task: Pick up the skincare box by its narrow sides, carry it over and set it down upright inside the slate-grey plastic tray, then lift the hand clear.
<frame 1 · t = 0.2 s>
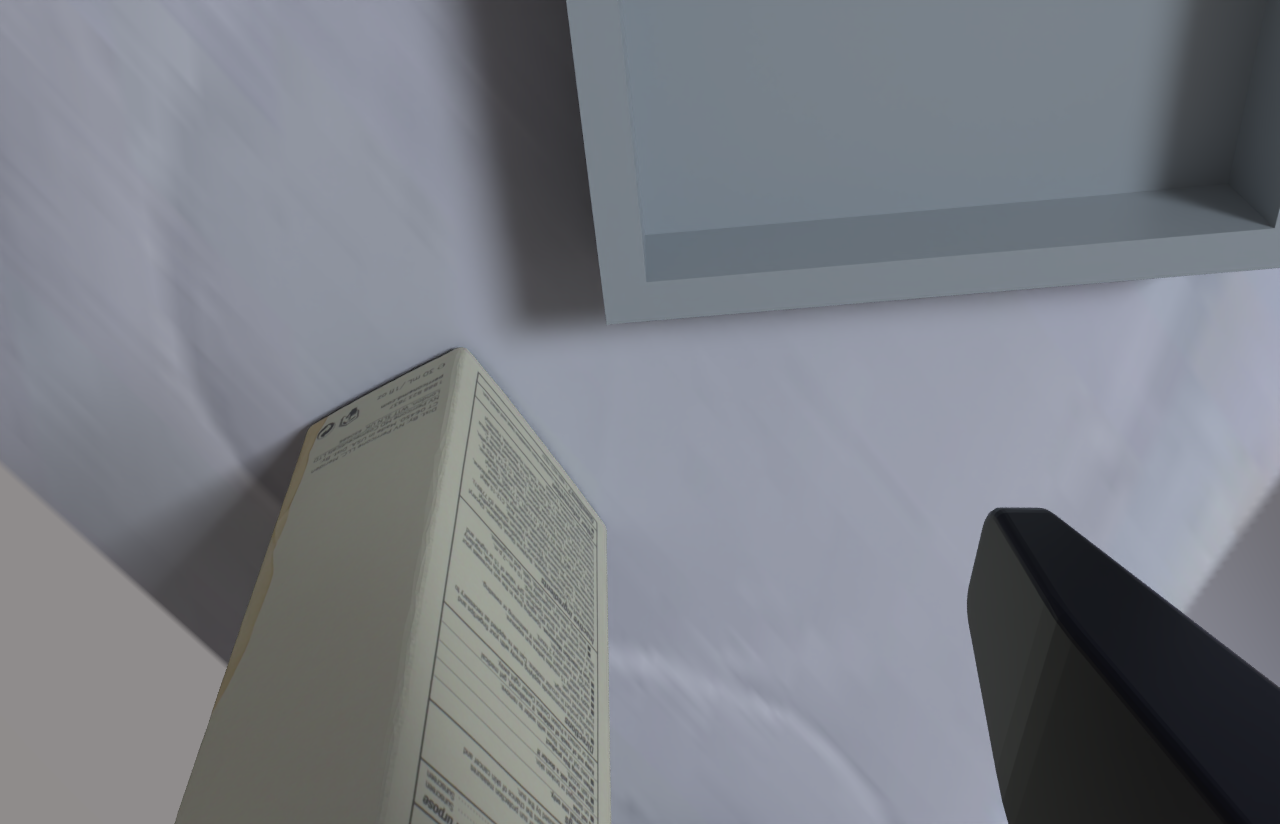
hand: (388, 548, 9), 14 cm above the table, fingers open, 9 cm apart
skincare box: (471, 473, 27), on the table
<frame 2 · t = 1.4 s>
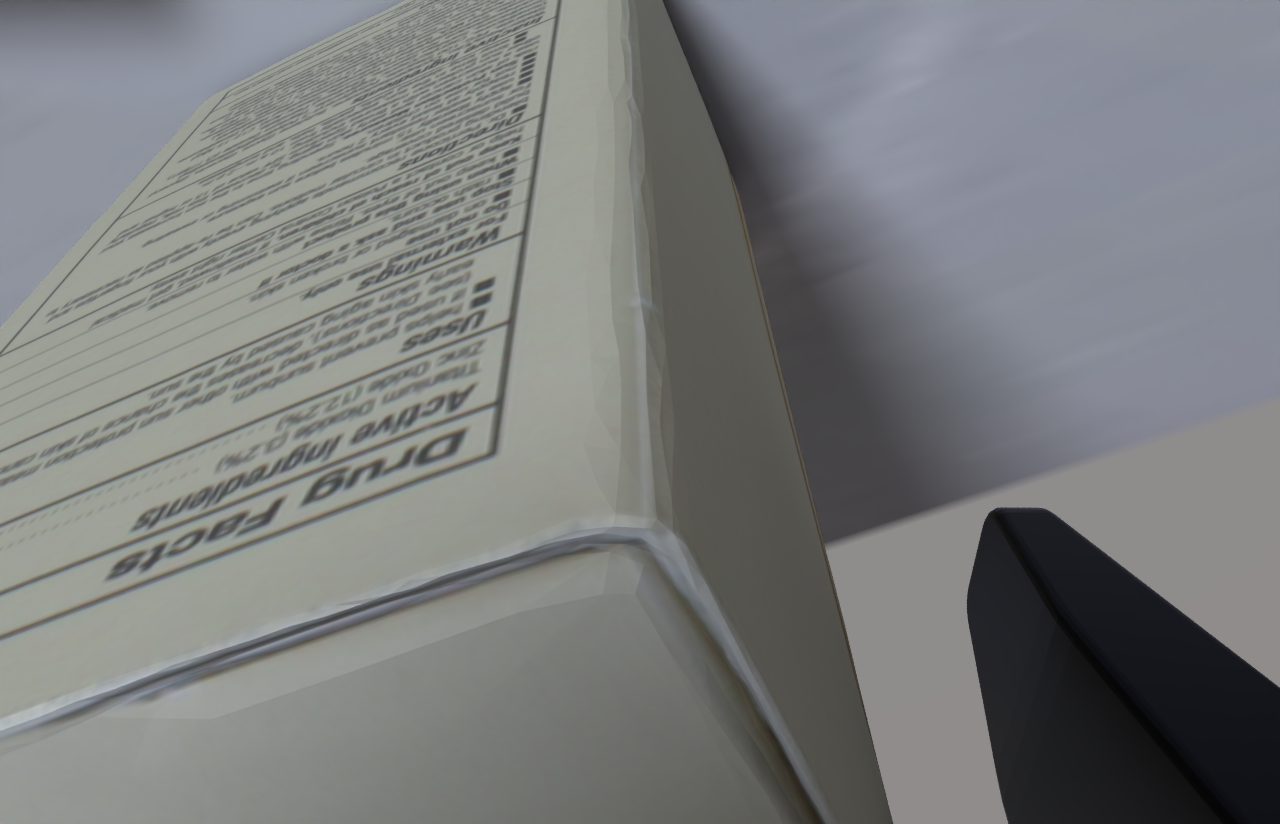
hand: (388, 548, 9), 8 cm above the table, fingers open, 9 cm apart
skincare box: (485, 131, 16), on the table
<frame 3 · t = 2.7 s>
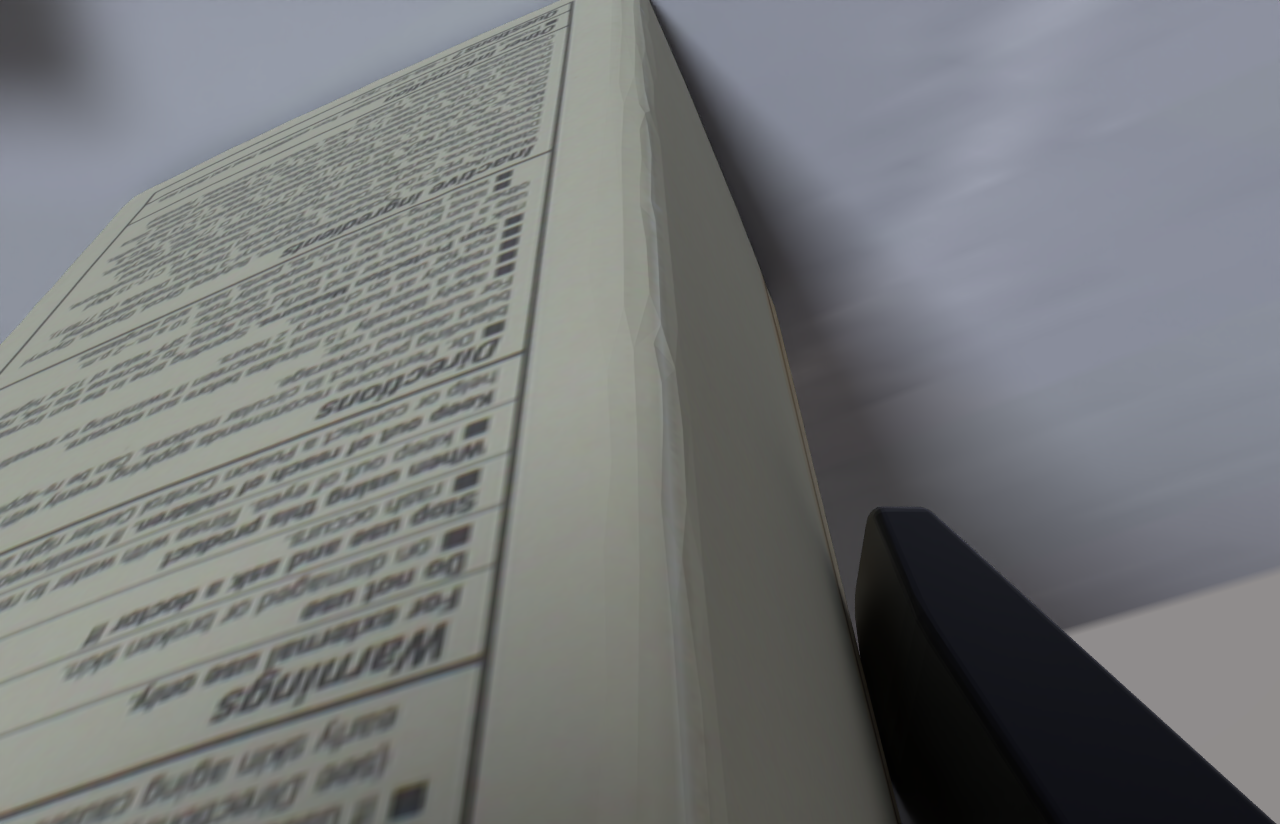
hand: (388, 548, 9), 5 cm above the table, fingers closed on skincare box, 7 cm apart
skincare box: (470, 234, 13), on the table, touching gripper
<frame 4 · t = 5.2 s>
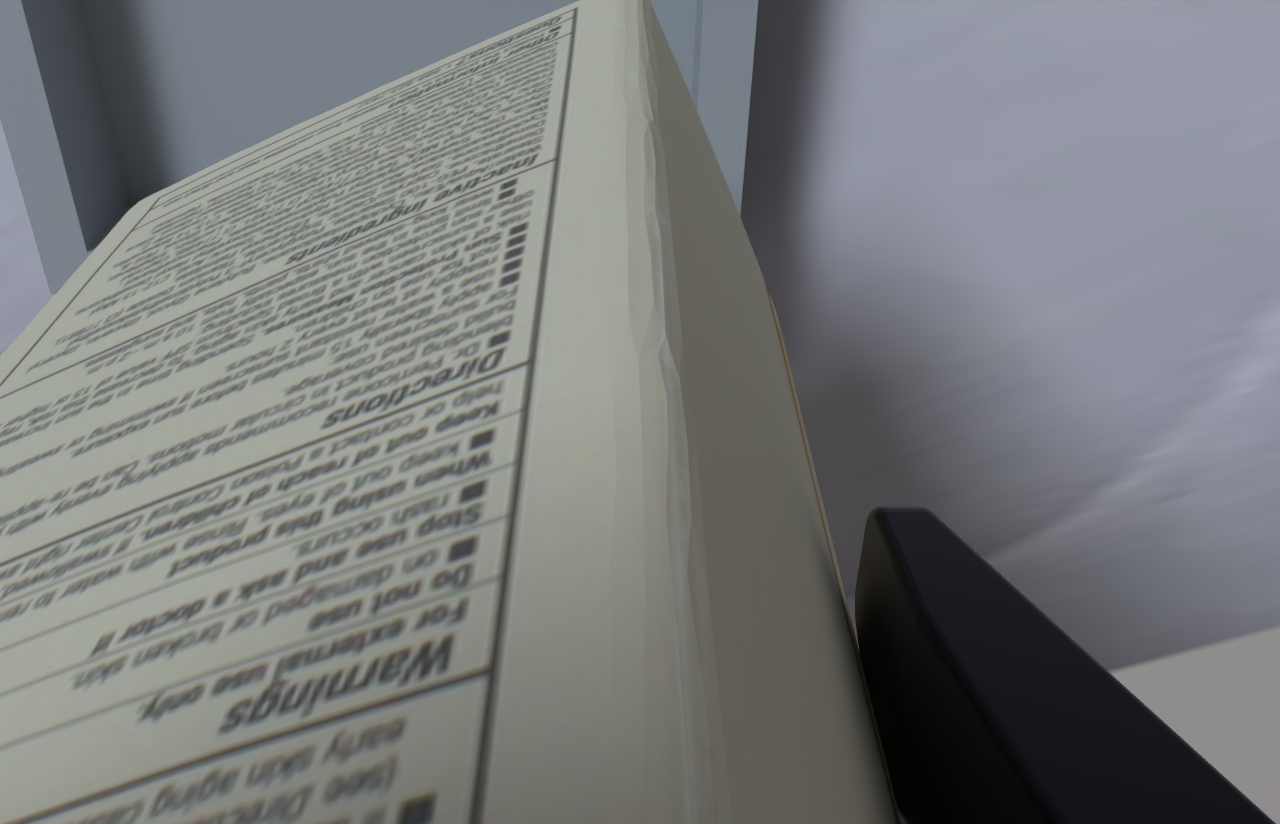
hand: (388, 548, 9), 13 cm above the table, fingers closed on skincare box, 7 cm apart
skincare box: (473, 239, 13), point 8 cm above the table, touching gripper
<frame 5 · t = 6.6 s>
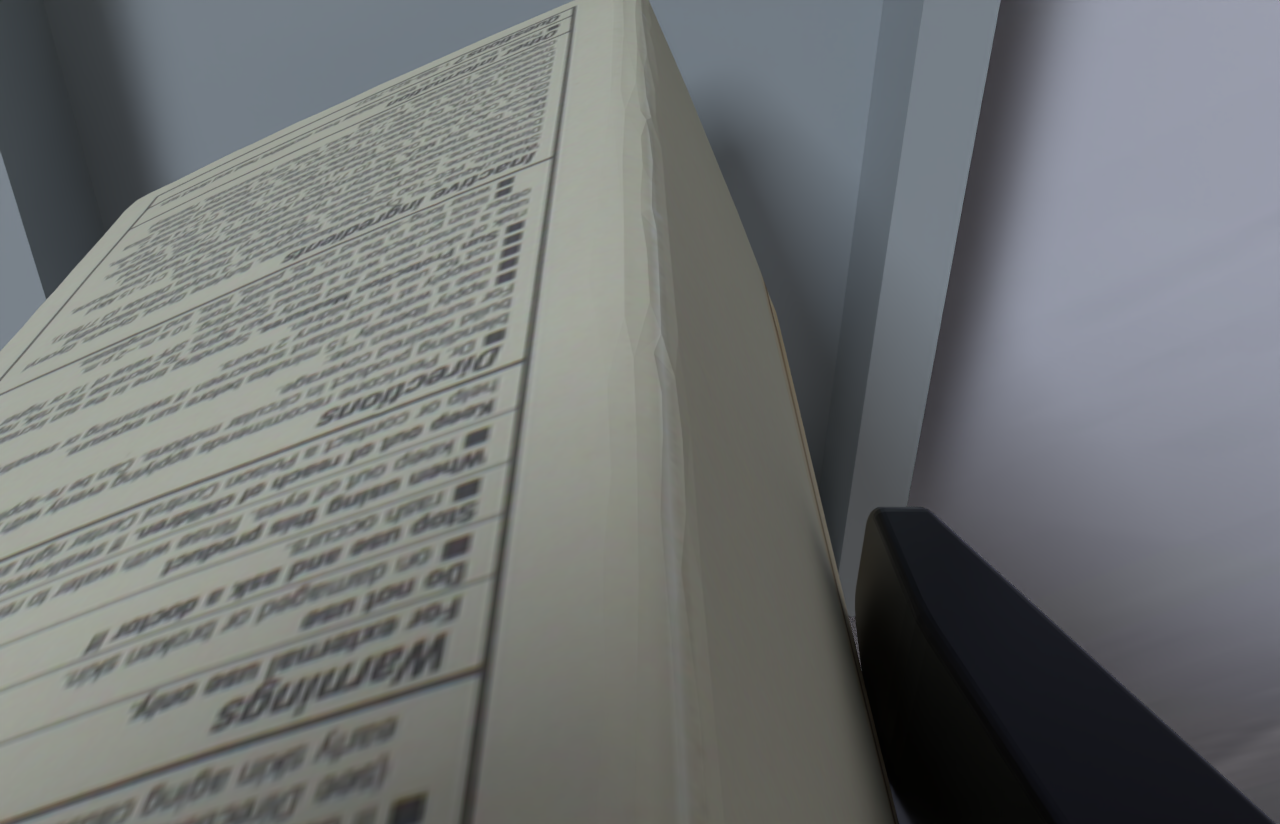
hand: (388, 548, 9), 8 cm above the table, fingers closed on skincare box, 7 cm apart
sorting tray: (480, 138, 15), on the table
skincare box: (472, 238, 13), point 3 cm above the table, touching gripper
when the fingers open (7 cm above the table, at t = 7.8 s): skincare box drops 1 cm, resting on sorting tray.
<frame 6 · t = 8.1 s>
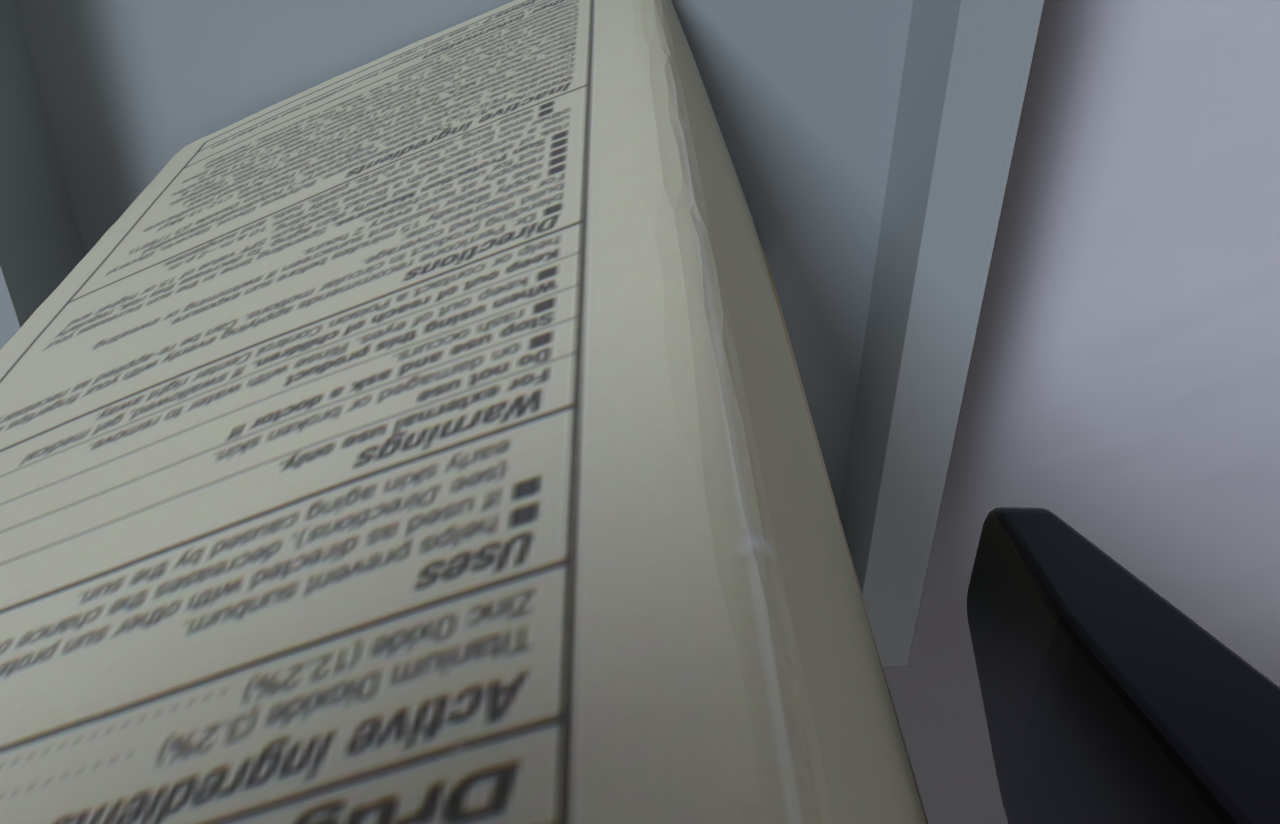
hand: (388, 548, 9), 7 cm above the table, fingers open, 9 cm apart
sorting tray: (483, 167, 15), on the table
skincare box: (490, 190, 14), resting on sorting tray
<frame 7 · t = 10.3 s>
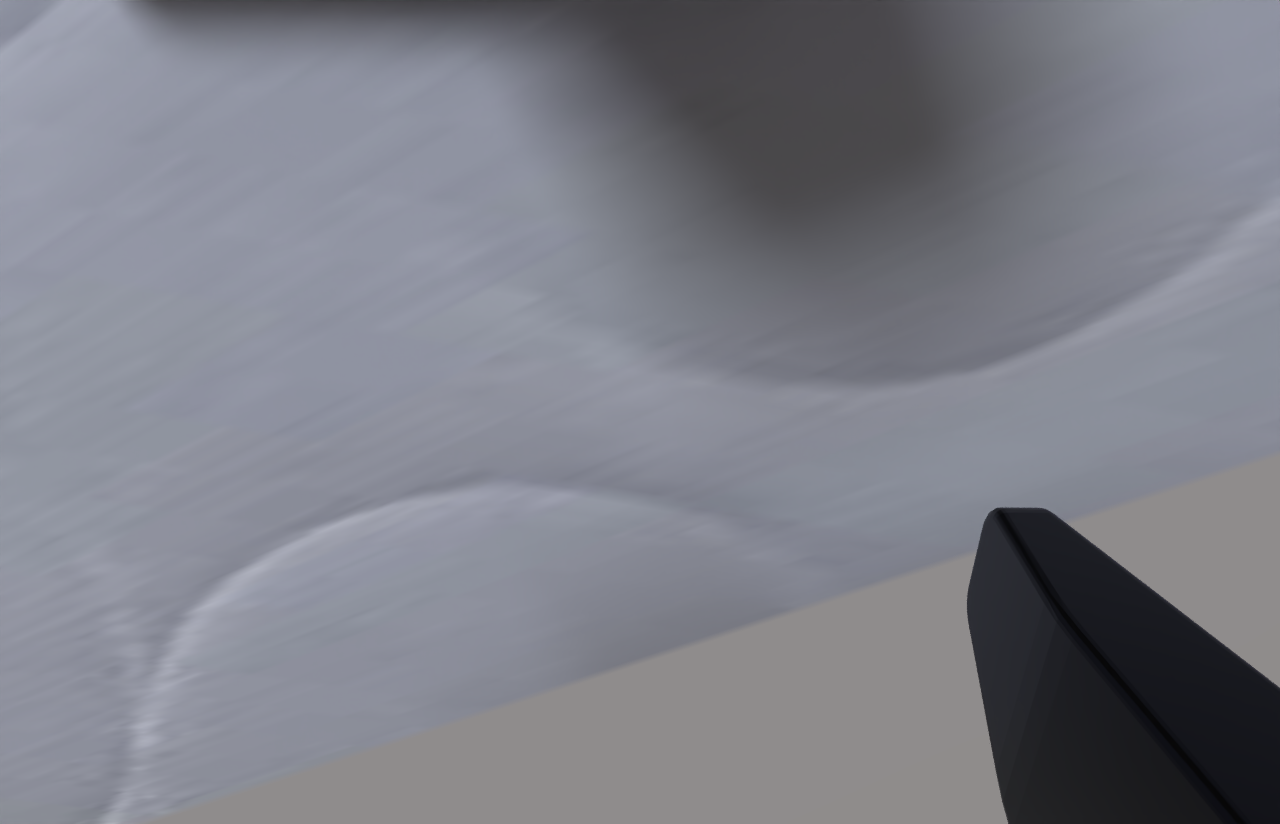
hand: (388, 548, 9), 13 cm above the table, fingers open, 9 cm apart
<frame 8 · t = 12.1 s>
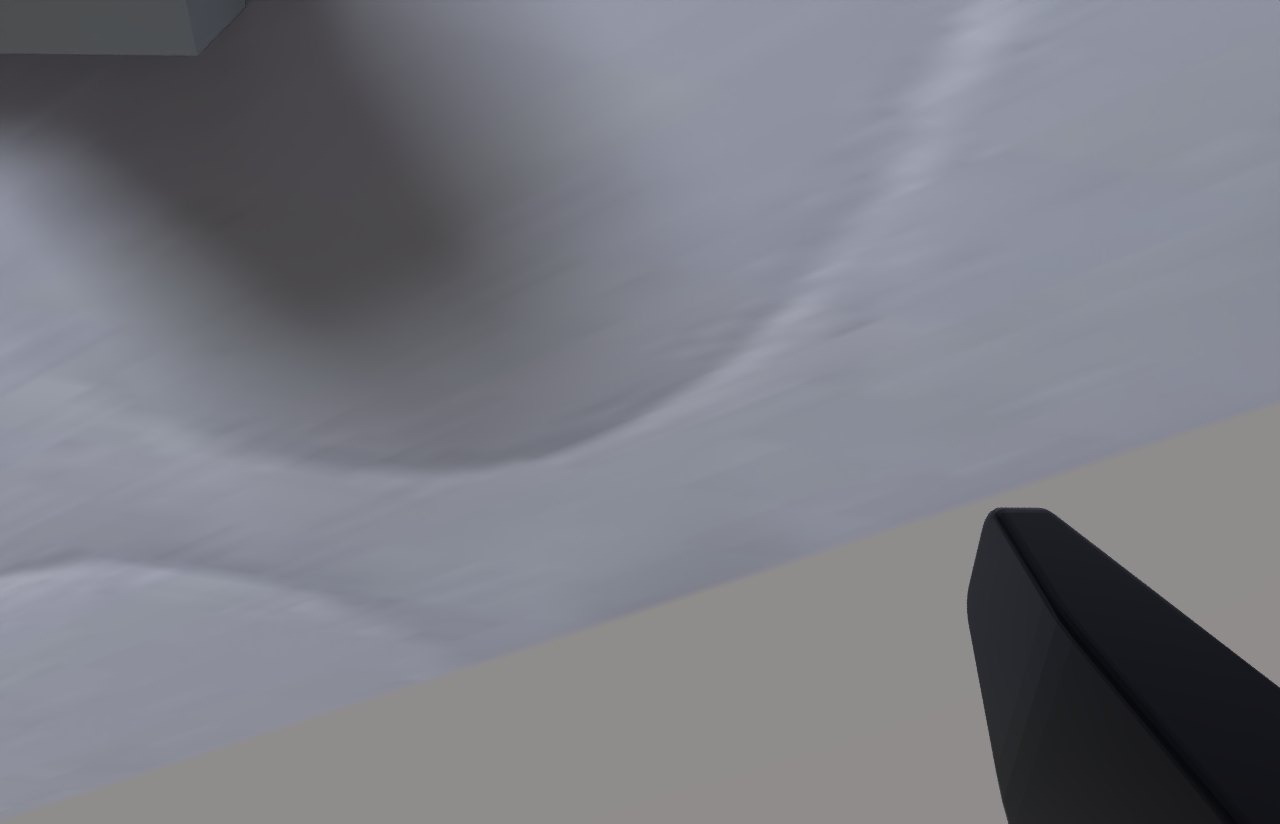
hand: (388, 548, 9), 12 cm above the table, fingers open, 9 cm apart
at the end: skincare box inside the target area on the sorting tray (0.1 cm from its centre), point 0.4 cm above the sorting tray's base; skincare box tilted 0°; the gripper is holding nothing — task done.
